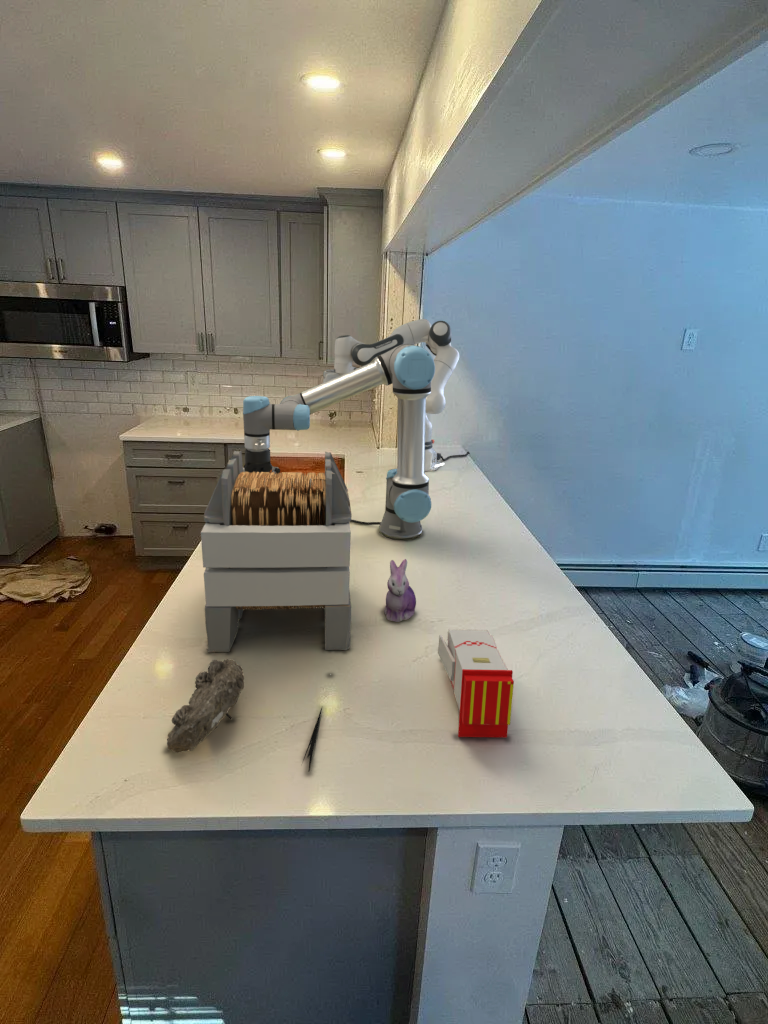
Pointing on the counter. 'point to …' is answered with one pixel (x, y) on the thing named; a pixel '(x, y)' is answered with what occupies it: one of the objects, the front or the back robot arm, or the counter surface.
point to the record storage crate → (277, 549)
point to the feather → (313, 740)
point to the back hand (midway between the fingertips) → (342, 397)
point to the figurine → (399, 594)
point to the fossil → (206, 705)
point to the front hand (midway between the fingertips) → (259, 521)
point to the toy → (478, 682)
